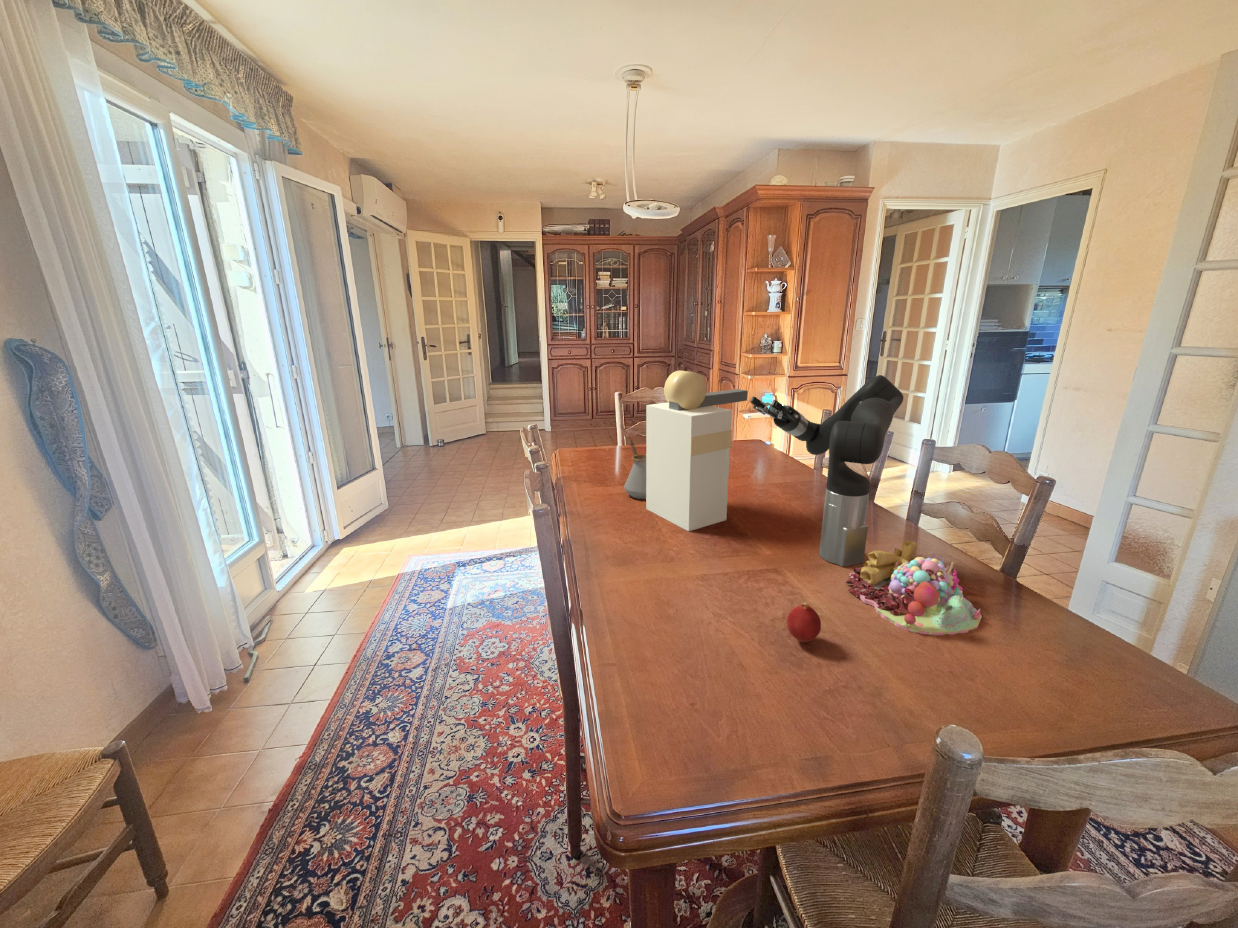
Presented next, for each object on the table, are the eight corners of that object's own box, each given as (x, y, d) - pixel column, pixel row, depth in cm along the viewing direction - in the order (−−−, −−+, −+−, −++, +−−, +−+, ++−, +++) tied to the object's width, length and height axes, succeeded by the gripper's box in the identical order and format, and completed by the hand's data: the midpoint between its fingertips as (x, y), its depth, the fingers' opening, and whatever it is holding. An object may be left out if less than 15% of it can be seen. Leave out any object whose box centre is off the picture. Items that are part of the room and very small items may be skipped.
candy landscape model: (824, 581, 113) (829, 543, 110) (903, 562, 121) (909, 526, 118) (925, 647, 90) (933, 602, 88) (1014, 619, 98) (1024, 576, 96)
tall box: (689, 531, 138) (692, 416, 129) (646, 508, 155) (646, 405, 146) (727, 520, 145) (732, 410, 136) (682, 499, 162) (684, 400, 153)
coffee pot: (663, 499, 163) (664, 454, 158) (628, 502, 160) (628, 456, 156) (646, 478, 183) (646, 438, 178) (615, 481, 180) (614, 440, 176)
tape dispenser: (677, 411, 136) (678, 373, 133) (663, 408, 140) (664, 371, 138) (749, 401, 149) (751, 366, 146) (734, 398, 154) (736, 365, 151)
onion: (792, 627, 96) (795, 590, 94) (823, 639, 92) (827, 600, 90) (780, 642, 92) (783, 604, 89) (812, 655, 88) (816, 615, 86)
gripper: (778, 407, 172) (750, 387, 162) (814, 414, 160) (785, 392, 151) (769, 427, 172) (740, 408, 162) (804, 435, 160) (775, 415, 151)
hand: (762, 401), depth 156 cm, fingers open, 8 cm apart
